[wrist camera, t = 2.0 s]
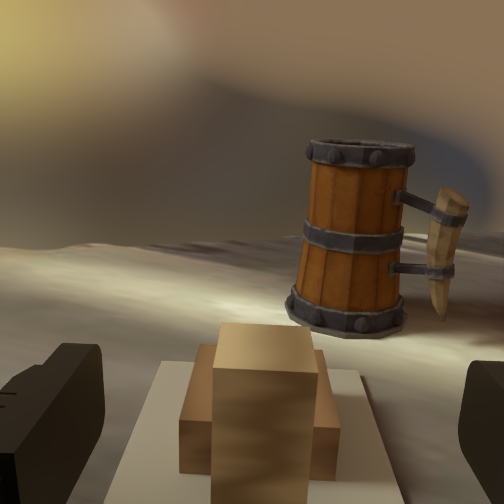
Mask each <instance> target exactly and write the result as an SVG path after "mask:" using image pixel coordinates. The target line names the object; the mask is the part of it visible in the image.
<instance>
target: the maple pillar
mask: <svg viewBox="0 0 504 504" xmlns="http://www.w3.org/2000/svg"><path fill="white" fill-rule="evenodd" d="M317 384H318V368H317V363H316V358H315V353H314V348H313V343H312V338H311V333H310V328H309V327H303V326H282V325H261V324H240V323H222V325H221V330H220V335H219V340H218V345H217V349H216V354H215V359H214V364H213V385H212V441H211V497H210V504H307V497H308V485H309V474H310V463H311V451H312V440H313V429H314V418H315V406H316V395H317Z"/></svg>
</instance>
